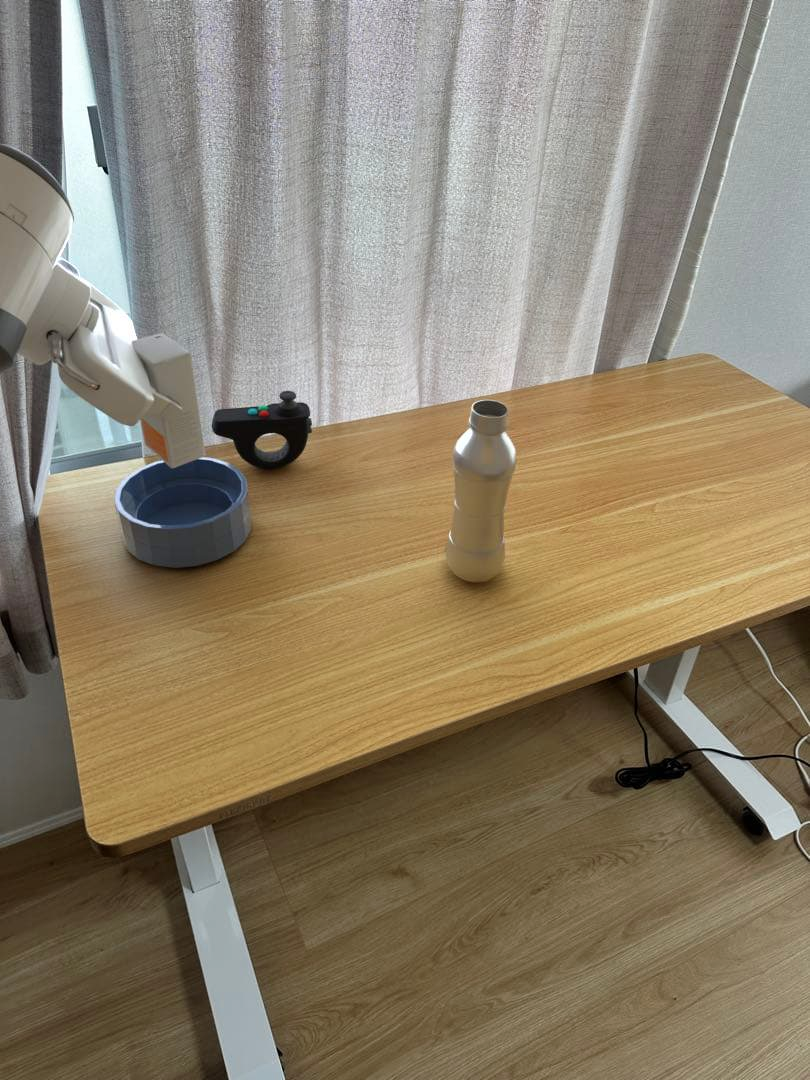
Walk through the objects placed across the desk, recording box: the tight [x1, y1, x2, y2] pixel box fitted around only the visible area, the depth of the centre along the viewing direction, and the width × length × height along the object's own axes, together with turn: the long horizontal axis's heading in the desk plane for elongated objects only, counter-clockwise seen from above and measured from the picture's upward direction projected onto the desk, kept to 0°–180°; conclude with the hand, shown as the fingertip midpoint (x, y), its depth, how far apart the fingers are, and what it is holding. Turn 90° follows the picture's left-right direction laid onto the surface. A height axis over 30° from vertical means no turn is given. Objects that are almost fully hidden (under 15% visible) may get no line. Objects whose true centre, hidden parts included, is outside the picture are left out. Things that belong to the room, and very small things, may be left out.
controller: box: [211, 390, 313, 470], centre depth 101 cm, size 4×12×10 cm, turn 102°
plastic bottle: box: [444, 399, 518, 583], centre depth 83 cm, size 6×7×20 cm
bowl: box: [113, 456, 252, 569], centre depth 91 cm, size 14×14×6 cm
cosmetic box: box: [132, 332, 206, 468], centre depth 82 cm, size 6×4×12 cm
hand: (172, 395), depth 82 cm, fingers closed on cosmetic box, 7 cm apart
